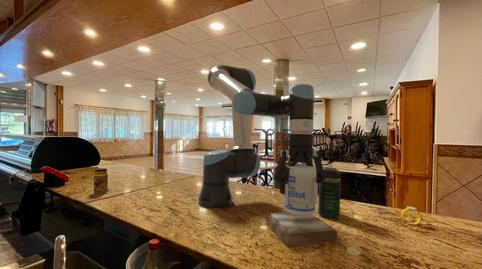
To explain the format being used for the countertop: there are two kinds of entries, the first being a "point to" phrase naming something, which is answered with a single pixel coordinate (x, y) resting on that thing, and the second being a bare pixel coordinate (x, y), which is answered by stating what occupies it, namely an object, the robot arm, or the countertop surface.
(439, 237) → the countertop surface
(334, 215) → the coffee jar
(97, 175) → the condiment
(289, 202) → the supplement tub
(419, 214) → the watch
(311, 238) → the plinth
